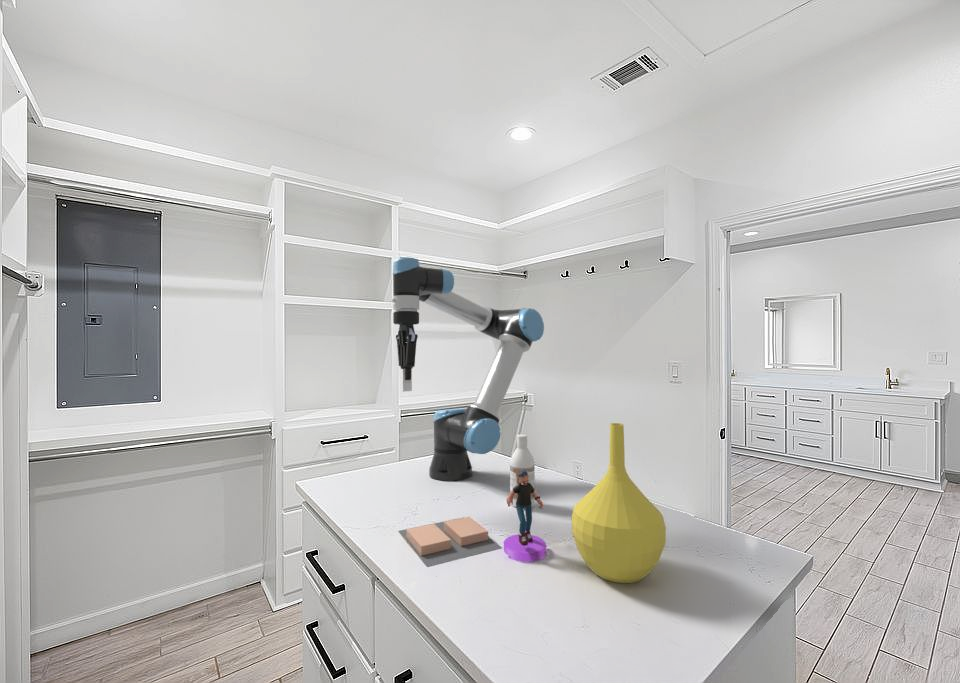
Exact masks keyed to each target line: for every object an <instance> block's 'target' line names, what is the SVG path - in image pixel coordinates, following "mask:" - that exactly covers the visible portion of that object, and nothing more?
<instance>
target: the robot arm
mask: <svg viewBox="0 0 960 683" xmlns="http://www.w3.org/2000/svg"><path fill="white" fill-rule="evenodd" d="M392 280H393V281H392V284H393V285H392V290H393V292H392V294H393V297H392V298H393V299H391V302H392V303H393V310H394V311H393V316H392V318H393V324H394V325H398V327H399V328H398V331H397V334H396V335H395V339H396V345H397V346H396V347H397V348H396V349H397V359H398V360H397V361H398V366H399V367H400V370H401V372H400V373H401V374H400V377H401V378H400V379H401V380H400V381H401V384H400V385H401V386H400V387H401V388H400V389H401V392H412V391H413V380H412V378H413V374H412V373H413V368H414V367H415V364H416V351H417V340H418V336H419V335H418V334H416V331H415V326H414V325H419V324H420V312H419V310H420V302H422V303H425V304H426V305H428V306H431V307H433V308H435V309H437V310H440V311H441V312H444V313H446V314H448V315H451V316H452V317H455V318H457V319H458V320H461V321H463V322H465V323H466V324H470V325H472V326H474V328H475V329H476V331H478V332H480V333H482V334H484V335H487V336H488V337H491V338H494V339H496V340H499V341H500V344H499V347H498V348H497V352H496V354H495V356H494V359H493V361H492V362H491V365H490V367H489V369H488V371H487V374H486V375H485V378H484V380H483V383H482V385H481V387H480V389H479V392H478V393H477V396H476V398H475V399H474V403H472V404H469V405H467V407H466V408H462V407H461V408H451V409H449V408H448V409H447V408H446V409H439V410H436V412H435V413H434V415H433V447H434V448H433V450H434V451H433V456H432V459H431V463H430V466H429V470H428V471H429V472H428V473H429V477H430V478H431V479H434V480H438V481H448V482H449V481H451V482H452V481H460V480H465V479H467V478H468V479H469V478H471V477H472V475H473V466H472V464H471V460H470V457H469V454H468V452H469V453H471V454H478V455H485V454H488V453H490V452H492V451H493V450H494V449H495V448H496V447H497V445H498V444H499V442H500V439H501V427H500V425H499V423H500V417H499V414H498V413H499V411H500V410H501V406H502V404H503V402H504V399H505V397H506V395H507V392H508V390H509V387H510V385H511V383H512V380H513V379H514V375H515V373H516V371H517V369H518V366H519V364H520V361H521V359H522V356H523V355H524V353H525V352H529V350H530V349H531V346H532V344H533V342H537V341H540V339H541V338H542V337H543V335H544V333H545V331H544V330H545V324H544V320H543V316H541V313H540V312H538V310H536V309H535V308H528V307H523V308H517V309H516V308H515V309H504V310H503V309H495V308H491V307H490V306H484V307H483V306H481V305H480V304H477V303H475V302H474V301H472V300H469V299H468V298H465V297H464V296H461V295H460V294H457V293H455V292H453V289H454V287H455V286H454V285H455V276H454V275H453V272H452V271H450V270H446V269H443V268H432V267H423V266H420V261H419V259H418V258H415V257H408V256H407V257H397V258H395V259H394V261H393V266H392Z"/></svg>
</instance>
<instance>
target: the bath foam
mask: <svg viewBox="0 0 960 683" xmlns="http://www.w3.org/2000/svg"><path fill="white" fill-rule="evenodd" d="M509 463H510V464H509V465H510V466H509V478H510V479H509V483H510V484H509V485H510V486H509V493H510V492H511V491H512V490H513V488H514V487H515V486H517V485H518V484H519V483H521V481H520V480H519V477H518V476H517V475H519V473H520V472H521V471H526V472H527V473H528V476H529V477H528V483H531V485H532V486H533V488H534V489H536V488H535V487H536V486H535V485H536V483H535V482H536V480H535V479H536V478H535V477H536V476H535V471H536V470H535V466H536V464H535V460H534V456H533V455H532V453H531V452H530V450H529V448H528V435H527V434H522V433H521V434H517V435H516V449H515V451H514V452H513V453H512V456H511V457H510V462H509ZM517 498H518V493H516V494H515V495H514V497H513V505H512V504H511V503H510V507H513V508H515V509H517V508H516V501H517ZM535 501H536V500H535V498H534V497H533V495H532V494H531V503H532V504H531V506H532V508H533V507H534V506H535V504H536V503H535ZM523 510H525V508H523Z"/></svg>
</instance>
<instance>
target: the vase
mask: <svg viewBox="0 0 960 683" xmlns="http://www.w3.org/2000/svg"><path fill="white" fill-rule="evenodd" d="M624 427H625V426H624V424H623V423H619V422H611V423H610V424H609V448H608V449H609V456H608V457H609V463H608V464H609V465H608V467H607V468H608V469H607V470H606V473H605V475H604V476H603V477H602V478H601V479H600V480H599V481H598V482H597V483H596V485H594V487H592V489H591V490H590V491H589V492H588V493H587V494H585V495H584V496H583V497H582V498H581V499H580V500H579V501H578V502H577V503H576V504H575V505H574V507H573V510H572V515H571V534H572V535H573V539H574V542H575V545H576V548H577V551H578V553H579V555H580V556H581V558H582V559H583V562H585V564H586V565H587V567H588V568H589V569H590V570H592V572H593V573H594V574H596V575H597V577H600V578H602V579H604V580H605V581H610V582H614V583H619V584H620V583H621V584H628V583H629V584H632V583H636V582H639V581H641V580H642V579H644V578H645V577H647V576H648V575H649V574H650V573H651V572H652V571H653V569H654V568H655V567H656V565H658V563H659V561H660V559H661V556H662V553H663V550H664V548H665V545H666V541H667V540H666V532H667V531H666V530H667V529H666V528H667V527H666V524H665V518H664V516H663V514H662V512H661V511H660V510H659V509H658V508H657V507H656V506H655V505H654V503H652V502H651V500H649V498H647V497H646V496H645V494H644V493H643V492H642V491H641V490H640V488H638V486H637V485H636V484H635V483H634V481H633V480H632V479H631V478H630V475H629V474H628V472H627V470H626V465H625V464H626V463H625V460H626V458H625V454H626V453H625V433H624V432H625V431H624V430H625V429H624Z"/></svg>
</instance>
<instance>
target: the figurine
mask: <svg viewBox="0 0 960 683" xmlns="http://www.w3.org/2000/svg"><path fill="white" fill-rule="evenodd" d="M517 476H518V477H519V480H520V481H521V483H519V484H518V485H517V486H515V487H514V488H513V490H512V491H511V492H510V491H509V495H508V496H507V498H506V504H507V507H511V504H512V505H513V497H514V495H515V494H516V493H518V498H517V501H516V508H515V509H516V512H517V515H518V520H519V528H518V529H519V532H518V534H514V535H510V536H508V537H506V538H505V539H504V541H503V552H504V554H506V555H507V556H508V557H507V558H509V559H511V560H514V561H517V562H525V563H527V562H535V561H539V560H542V559H543V558H544V557H545V556H546V554H547V542H545V540H544V539H543V538H542V537H539V536H538V535H532V534H531V527H532V523H533V516H532V515H533V510H532V508H533V507H532V506H531V504H532V503H531V494H532V495H533V497H534V498H535V501H536V503H537V504H538V505H539V506H538V509H540V510H543V507H544V503H543V501H542V500H541V496H539V495H538V493H537V492H536V490H535V489H536V488H535V489H534V488H533V486H532V485H531V483H528V477H529V476H528V473H527V472H526V471H521V472H520V473H519V475H517ZM523 508H525V509H523ZM524 510H525V511H524Z"/></svg>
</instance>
